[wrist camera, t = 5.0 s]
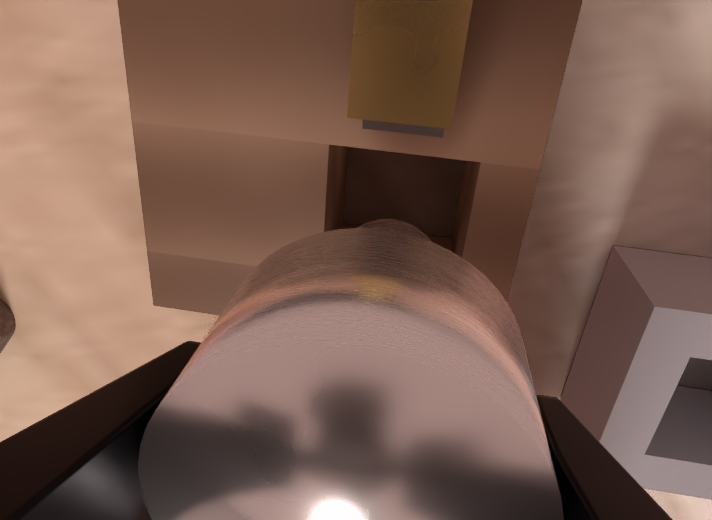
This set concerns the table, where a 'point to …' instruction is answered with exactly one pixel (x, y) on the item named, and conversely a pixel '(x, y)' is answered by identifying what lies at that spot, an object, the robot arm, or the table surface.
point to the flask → (5, 324)
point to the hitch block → (317, 132)
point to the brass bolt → (407, 60)
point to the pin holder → (648, 369)
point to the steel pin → (355, 394)
